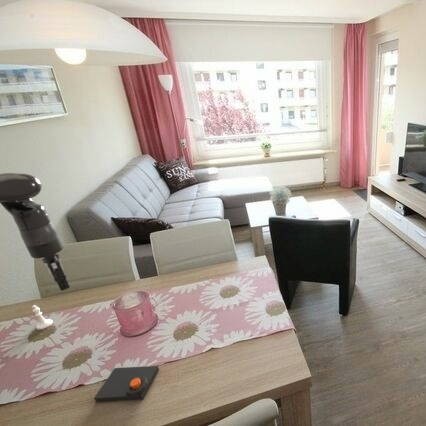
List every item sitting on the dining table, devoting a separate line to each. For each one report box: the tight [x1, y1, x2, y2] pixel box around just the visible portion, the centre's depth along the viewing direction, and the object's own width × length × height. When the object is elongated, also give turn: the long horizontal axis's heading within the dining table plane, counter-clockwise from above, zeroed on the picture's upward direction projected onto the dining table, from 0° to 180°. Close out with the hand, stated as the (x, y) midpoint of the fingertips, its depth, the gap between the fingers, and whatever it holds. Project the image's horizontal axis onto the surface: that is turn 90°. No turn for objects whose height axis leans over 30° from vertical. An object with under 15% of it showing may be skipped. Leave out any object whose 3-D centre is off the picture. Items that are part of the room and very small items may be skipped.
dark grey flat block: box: [94, 365, 160, 403], centre depth 91 cm, size 10×14×4 cm
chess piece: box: [31, 304, 53, 331], centre depth 115 cm, size 5×5×10 cm
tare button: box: [130, 378, 141, 389], centre depth 88 cm, size 3×3×2 cm
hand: (63, 283), depth 93 cm, fingers open, 8 cm apart
